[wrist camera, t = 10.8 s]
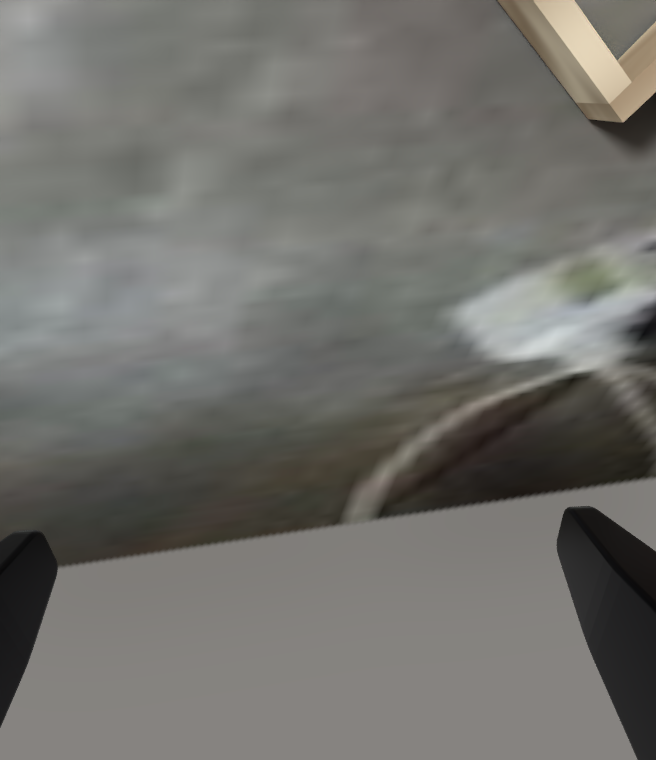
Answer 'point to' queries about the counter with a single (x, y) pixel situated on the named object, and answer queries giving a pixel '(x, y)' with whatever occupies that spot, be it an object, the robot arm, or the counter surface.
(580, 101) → the beige square frame
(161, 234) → the counter surface
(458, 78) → the counter surface
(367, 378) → the counter surface
